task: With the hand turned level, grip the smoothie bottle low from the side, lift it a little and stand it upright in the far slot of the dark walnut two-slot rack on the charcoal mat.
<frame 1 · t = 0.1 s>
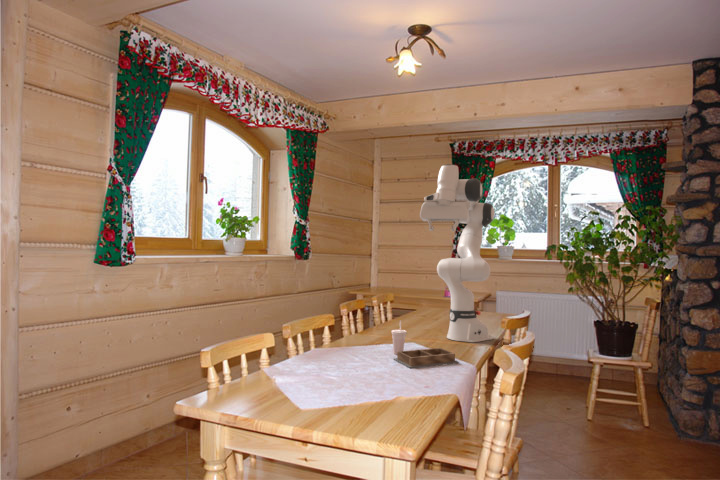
hand: (442, 230, 199), 52 cm above the table, tool tilted 20°, fingers open, 8 cm apart
smoothie: (398, 354, 199), on the table
mat: (425, 361, 188), on the table
rack: (426, 356, 188), on the mat, point 1 cm above the table
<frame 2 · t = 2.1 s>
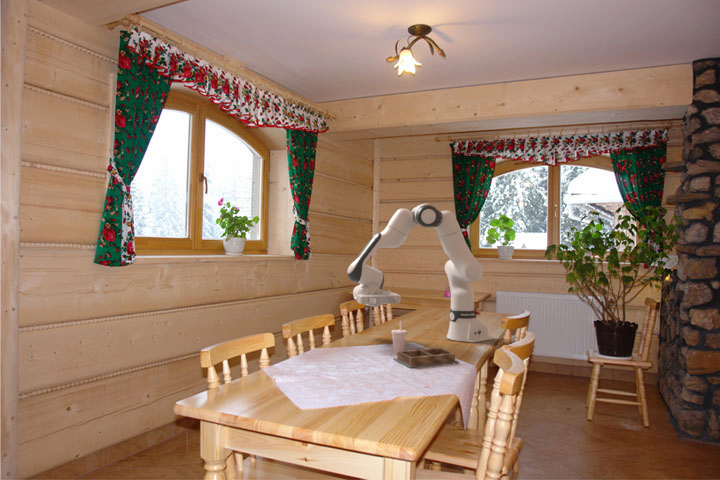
hand: (386, 301, 210), 20 cm above the table, tool horizontal, fingers open, 8 cm apart
nothing on the table moved.
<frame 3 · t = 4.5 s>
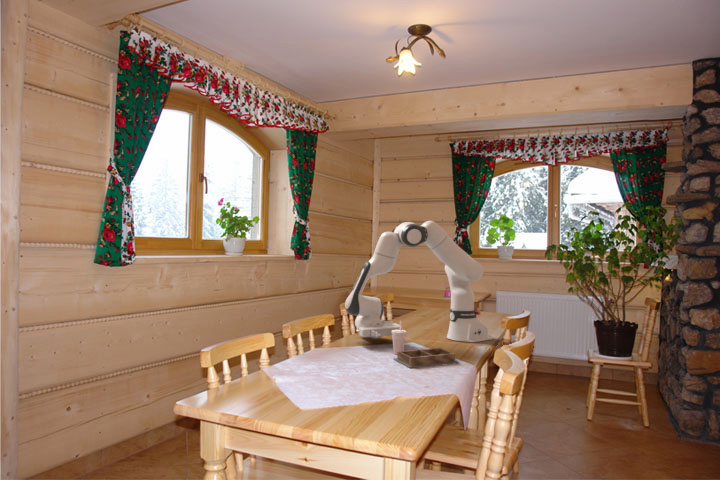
hand: (388, 334, 208), 6 cm above the table, tool horizontal, fingers open, 8 cm apart
nothing on the table moved.
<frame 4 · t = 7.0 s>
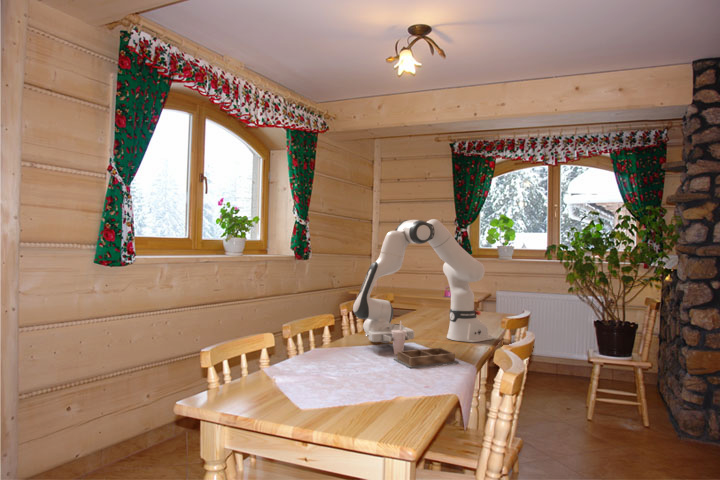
hand: (399, 338, 198), 7 cm above the table, tool horizontal, fingers closed on smoothie, 6 cm apart
smoothie: (398, 354, 199), on the table, touching gripper
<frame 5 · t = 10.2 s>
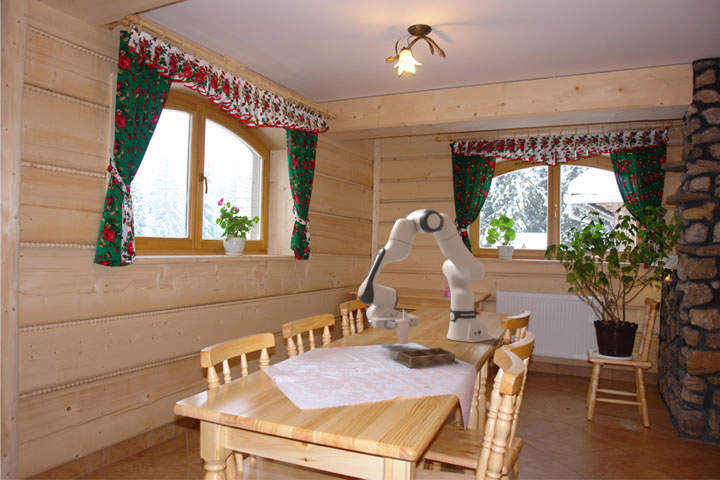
hand: (403, 325, 196), 13 cm above the table, tool horizontal, fingers closed on smoothie, 6 cm apart
smoothie: (403, 344, 196), point 5 cm above the table, touching gripper
when the fingers open (8 cm above the table, at t = 13.0 s): smoothie stays where it is, resting on mat.
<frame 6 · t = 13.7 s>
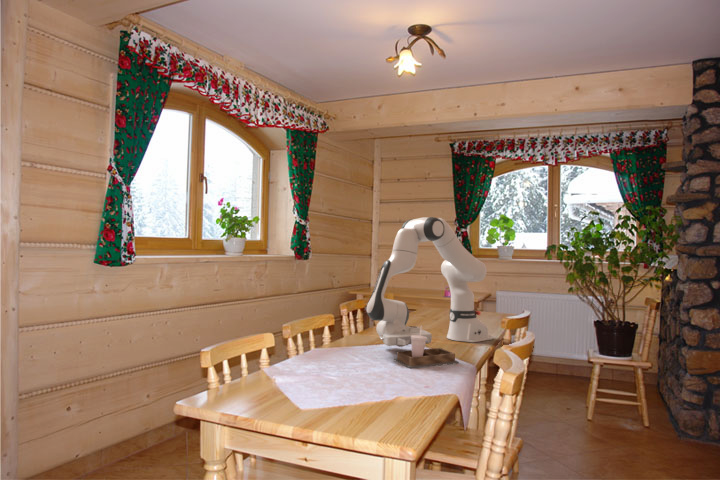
hand: (417, 342, 186), 8 cm above the table, tool horizontal, fingers open, 8 cm apart
smoothie: (416, 362, 186), resting on mat
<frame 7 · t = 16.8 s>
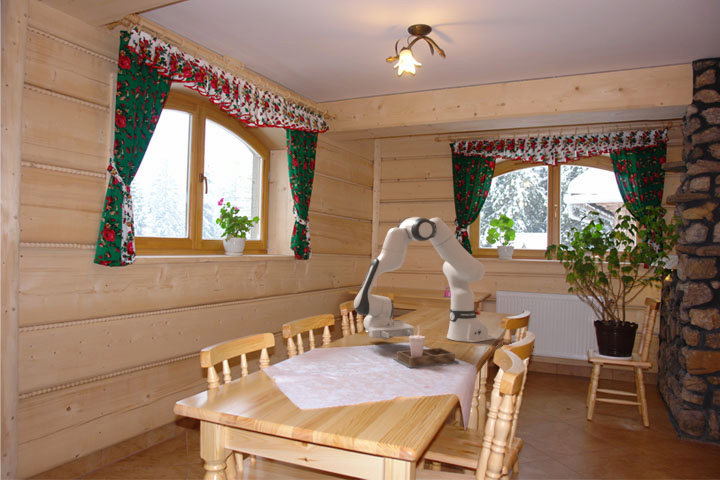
hand: (399, 335, 198), 8 cm above the table, tool horizontal, fingers open, 8 cm apart
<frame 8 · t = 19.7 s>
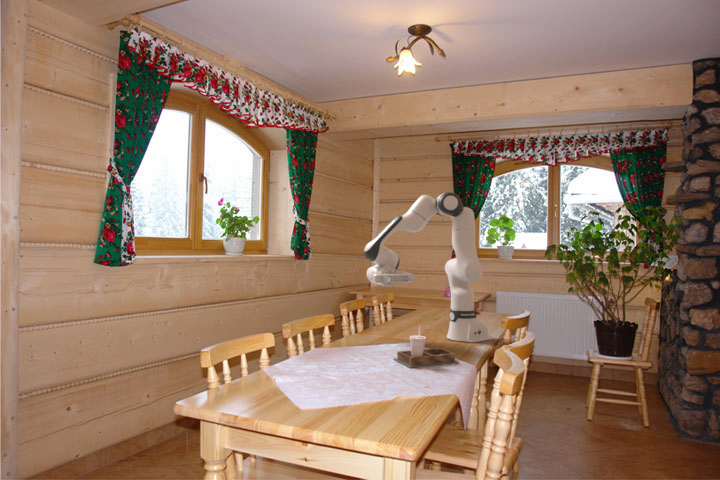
hand: (400, 279, 211), 30 cm above the table, tool horizontal, fingers open, 8 cm apart
nothing on the table moved.
at the end: smoothie 1.0 cm from the target spot, resting on mat; smoothie tilted 1°; the gripper is holding nothing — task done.
